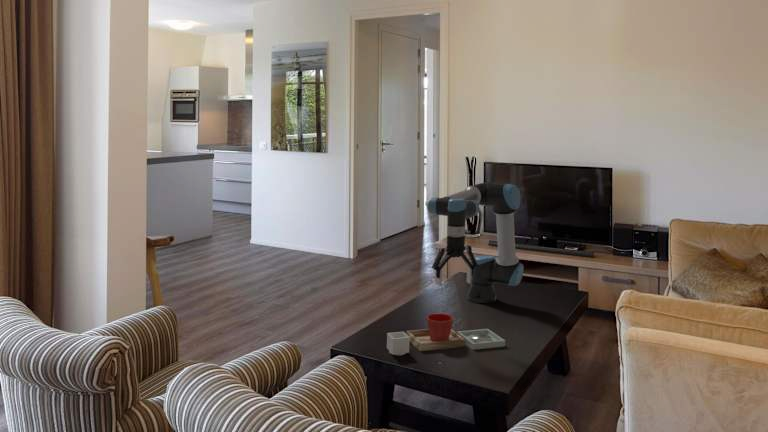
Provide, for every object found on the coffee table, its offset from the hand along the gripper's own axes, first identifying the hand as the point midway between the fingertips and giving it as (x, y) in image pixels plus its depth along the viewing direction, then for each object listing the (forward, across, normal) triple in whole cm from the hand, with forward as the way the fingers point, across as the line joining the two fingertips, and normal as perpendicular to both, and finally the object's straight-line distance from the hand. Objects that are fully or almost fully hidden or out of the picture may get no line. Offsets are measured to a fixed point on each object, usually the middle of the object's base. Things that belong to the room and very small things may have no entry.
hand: (454, 284), depth 253 cm
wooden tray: (+23, -10, -5) cm, 26 cm away
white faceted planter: (+23, -29, -11) cm, 39 cm away
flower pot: (+22, -8, -5) cm, 24 cm away
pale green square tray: (+23, +9, -9) cm, 27 cm away
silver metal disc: (+22, +9, -9) cm, 26 cm away
